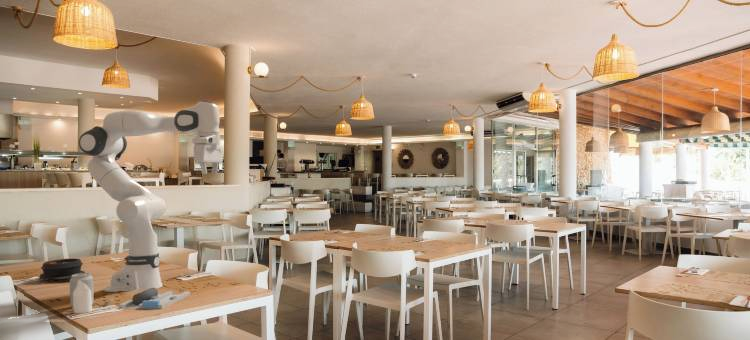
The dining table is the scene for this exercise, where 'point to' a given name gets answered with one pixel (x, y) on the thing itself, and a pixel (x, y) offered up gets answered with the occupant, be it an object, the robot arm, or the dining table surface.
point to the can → (85, 279)
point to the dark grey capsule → (144, 296)
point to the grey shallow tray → (156, 301)
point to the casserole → (61, 269)
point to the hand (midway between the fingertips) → (209, 173)
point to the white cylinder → (82, 298)
